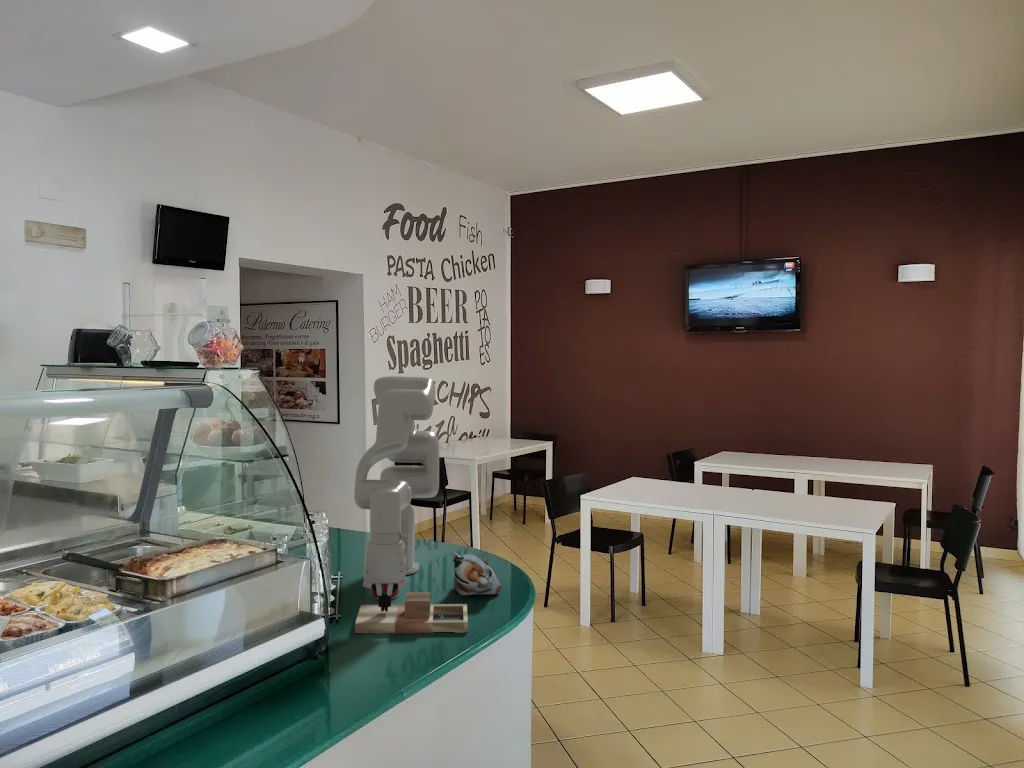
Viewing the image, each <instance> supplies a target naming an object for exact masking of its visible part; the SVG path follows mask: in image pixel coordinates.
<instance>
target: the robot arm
mask: <svg viewBox="0 0 1024 768" xmlns="http://www.w3.org/2000/svg"><path fill="white" fill-rule="evenodd" d="M373 392H374V395H375V398H376V400H377V402H378V407H377V424H376V434H375V442H374V443H373V444H372V445H371V447H370V448H369V449H367V450H366V451H365V452H364V454H363V455H362V457H361V458H360V460H359V462H358V464H357V467H356V471H355V480H354V489H353V490H354V492H353V494H354V495H353V497H354V498H353V499H354V502H355V503H354V504H355V505H356V507H358V508H359V509H361V510H369V540H368V541H366V545H365V553H364V564H363V581H362V586H363V588H367V589H371V590H372V589H373V590H374V591H375V592H376V593H377V595H378V596H379V598H378V599H377V600H378V604H377V605H378V607H381V612H383V611H384V609H385V612H388V607H391V605H392V599H391V594H392V593H393V592H394V591H395V590H396V589H397V588H399V589H400V588H405V587H406V586H407V584H408V583H407V578H406V577H407V575H412V574H414V573H416V572H418V571H419V570H420V564H419V563H418V562H417V561H415V546H416V545H415V541H416V540H415V531H416V530H415V529H416V528H415V527H416V521H415V520H416V514H415V513H416V512H415V508H414V507H413V506H412V504H411V501H412V499H430V498H434V497H436V496H437V494H438V492H439V489H440V445H439V438H438V436H437V434H436V433H435V432H433V431H431V430H415V428H414V426H415V424H414V423H415V421H429V420H430V419H431V417H432V415H433V412H434V406H435V399H436V385H435V382H434V380H433V379H432V378H430V377H426V376H396V375H395V376H394V375H393V376H382V377H378V378H377V379H375V381H374V383H373ZM384 459H387V460H388V461H390V462H393V463H414V464H416V463H418V464H419V463H421V464H422V465H392V466H391V465H390V466H388V467H385V468H383V470H382V471H381V473H380V476H379V479H367V478H368V475H369V471H370V469H371V468H372V467H373V466H375V464H377V463H379V462H381V461H382V460H384ZM382 584H388V589H387V590H386V593H384V590H383V587H382Z"/></svg>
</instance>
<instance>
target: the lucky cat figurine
mask: <svg viewBox="0 0 1024 768" xmlns="http://www.w3.org/2000/svg"><path fill="white" fill-rule="evenodd" d="M452 561H453V565H454V567H453V568H454V569H453V570H454V574H453V575H454V577H453V585H452V586H453V590H454V592H455V593H457V594H458V595H460V596H462V597H465V596H470V595H471V596H472V595H498V594H499V592H500V589H501V588H502V586H503V584H501V581H499V579H498V577H497V575H496V573H495V571H494V570H493V568H492V567H490V566H489V565H488V564H489V561H488V560H487V558H483V559H481V558H479V557H478V556H477V555H475V554H472V553H471V554H467V553H466V554H463V555H460V553H459V552H454V553H453V554H452Z"/></svg>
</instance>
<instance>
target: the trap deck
mask: <svg viewBox="0 0 1024 768" xmlns="http://www.w3.org/2000/svg"><path fill="white" fill-rule="evenodd" d="M439 615H440V616H439ZM441 615H443V616H444V620H441V618H440V617H441ZM468 619H469V618H468V604H467V603H448V604H447V603H442V604H441V603H438V604H437V603H430V617H429V619H405V604H391V607H388V612H385V609H384V611H383V612H381V607H378V604H361V605H360V607H359V610H358V613H357V616H356V619H355V623H354V634H355V633H363V635H364V633H367V634H368V633H372V634H373V633H375V634H434V633H433V632H441V631H446V632H455V633H456V634H457V633H469V631H468V630H469V627H468V625H469V623H468V622H469V621H468ZM372 634H371V635H372Z"/></svg>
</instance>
